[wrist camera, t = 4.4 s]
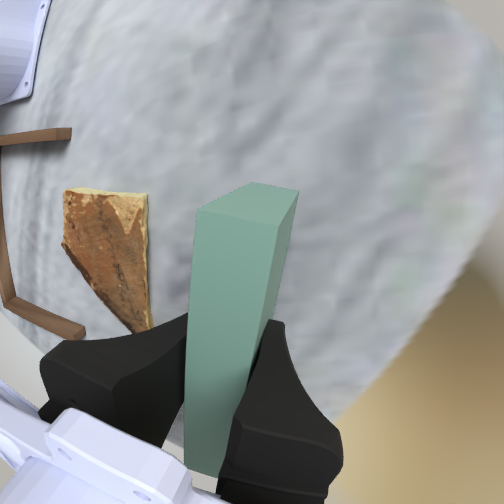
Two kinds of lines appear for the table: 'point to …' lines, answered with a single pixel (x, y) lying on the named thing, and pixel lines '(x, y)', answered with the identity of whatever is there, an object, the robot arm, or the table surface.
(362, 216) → the table surface
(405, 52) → the table surface
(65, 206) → the shard
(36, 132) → the walnut frame
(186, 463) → the bar
